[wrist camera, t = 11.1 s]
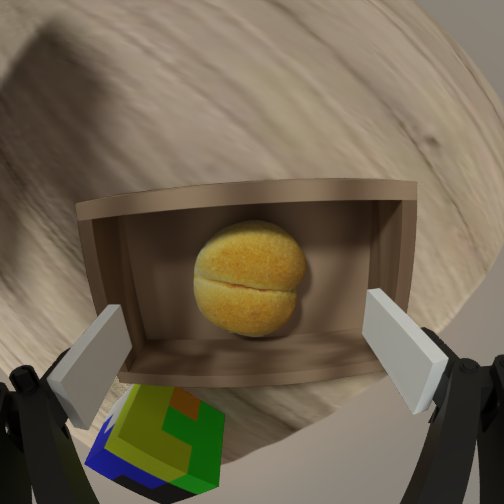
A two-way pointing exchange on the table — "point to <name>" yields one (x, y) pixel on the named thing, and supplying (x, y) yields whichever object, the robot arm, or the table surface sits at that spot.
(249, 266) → the bread roll
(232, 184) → the wooden box
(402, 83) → the table surface
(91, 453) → the puzzle toy
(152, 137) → the table surface
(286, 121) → the table surface
